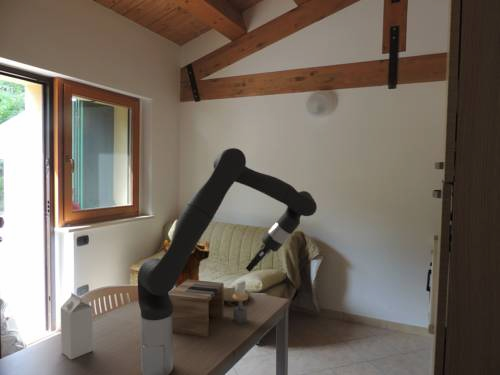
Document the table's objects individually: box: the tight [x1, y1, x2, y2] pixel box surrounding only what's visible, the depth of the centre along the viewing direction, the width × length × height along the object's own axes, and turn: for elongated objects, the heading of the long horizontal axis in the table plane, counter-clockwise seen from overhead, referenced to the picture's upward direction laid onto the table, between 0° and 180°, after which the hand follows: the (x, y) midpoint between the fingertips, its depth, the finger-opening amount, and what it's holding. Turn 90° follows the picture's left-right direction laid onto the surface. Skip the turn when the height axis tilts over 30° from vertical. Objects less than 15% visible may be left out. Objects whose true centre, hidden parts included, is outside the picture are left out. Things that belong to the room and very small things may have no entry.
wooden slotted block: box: [168, 279, 225, 338], centre depth 133 cm, size 18×16×14 cm
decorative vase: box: [163, 239, 211, 288], centre depth 161 cm, size 21×23×28 cm
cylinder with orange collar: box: [233, 279, 248, 325], centre depth 135 cm, size 6×6×16 cm
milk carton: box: [60, 292, 94, 360], centre depth 111 cm, size 7×7×19 cm
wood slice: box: [224, 287, 251, 307], centre depth 158 cm, size 16×16×3 cm
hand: (251, 266), depth 132 cm, fingers open, 8 cm apart
